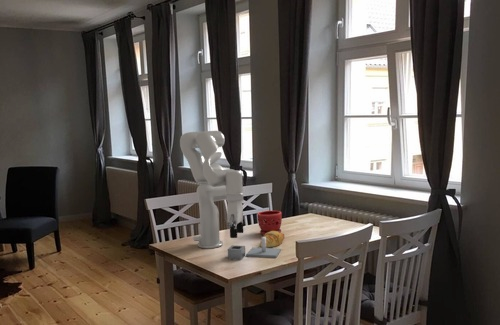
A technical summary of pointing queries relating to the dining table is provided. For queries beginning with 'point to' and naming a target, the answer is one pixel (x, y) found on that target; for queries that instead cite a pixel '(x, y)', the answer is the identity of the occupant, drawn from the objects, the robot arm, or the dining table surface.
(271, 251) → the keeper
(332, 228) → the dining table surface
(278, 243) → the croissant
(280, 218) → the plant pot
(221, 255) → the dining table surface
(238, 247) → the grey hollow block
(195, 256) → the dining table surface
